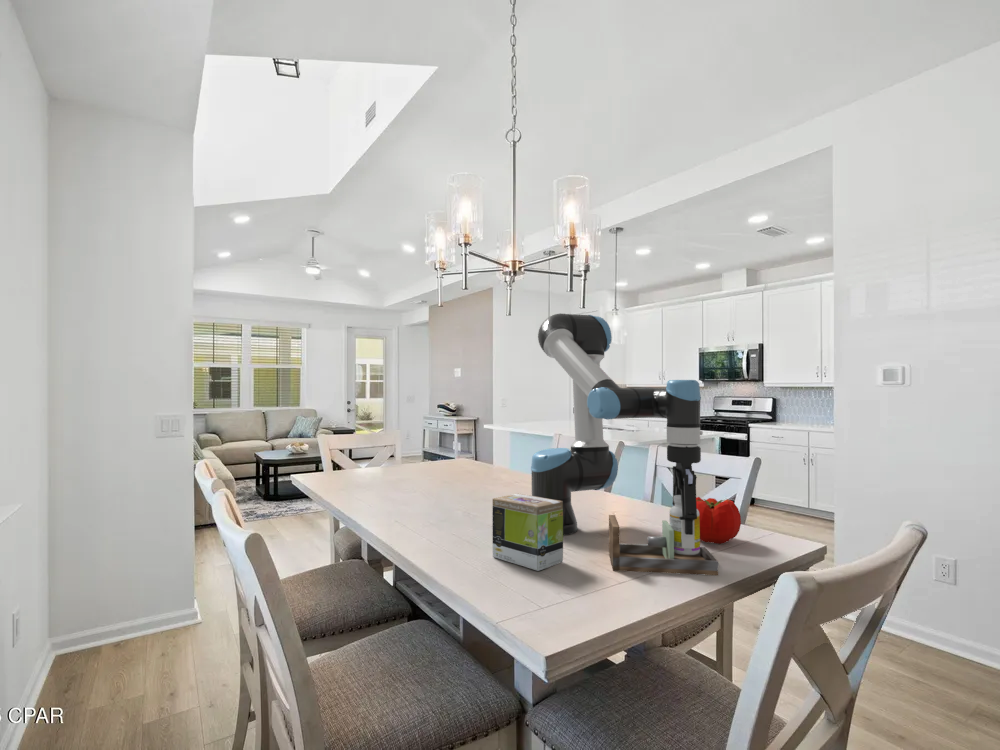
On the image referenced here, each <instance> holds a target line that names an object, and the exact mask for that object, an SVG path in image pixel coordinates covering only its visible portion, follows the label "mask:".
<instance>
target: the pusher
mask: <svg viewBox="0 0 1000 750" xmlns="http://www.w3.org/2000/svg"><path fill="white" fill-rule="evenodd" d="M661 523H662V524H661V526H662V527H661V529H662V533H661V534H662V536H650V535H648V536H647V545H648V547H662V549H663V555H664V557H665V558H666V559H674V530H673V529H672V527H671V526H670V522H668V521H667V520H662V522H661Z"/></svg>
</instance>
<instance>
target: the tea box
mask: <svg viewBox="0 0 1000 750" xmlns="http://www.w3.org/2000/svg"><path fill="white" fill-rule="evenodd" d="M491 514H492V540H491V541H492V557H493V558H496V559H499V560H502V561H505V562H507V563H511V564H514V565H518V566H522V567H524V568H528V569H530V570H534V571H537V572H539V571H542V570H545V569H548V568H551V567H553V566H556V565H558V564H561V563H563V560H564V535H563V501H559V500H553V499H547V498H542V497H536V496H532V495H531V494H530V495H529V494H523V493H515V494H514V493H513V494H509V495H504V496H503V495H502V496H498V497H494V498H492V513H491Z"/></svg>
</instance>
